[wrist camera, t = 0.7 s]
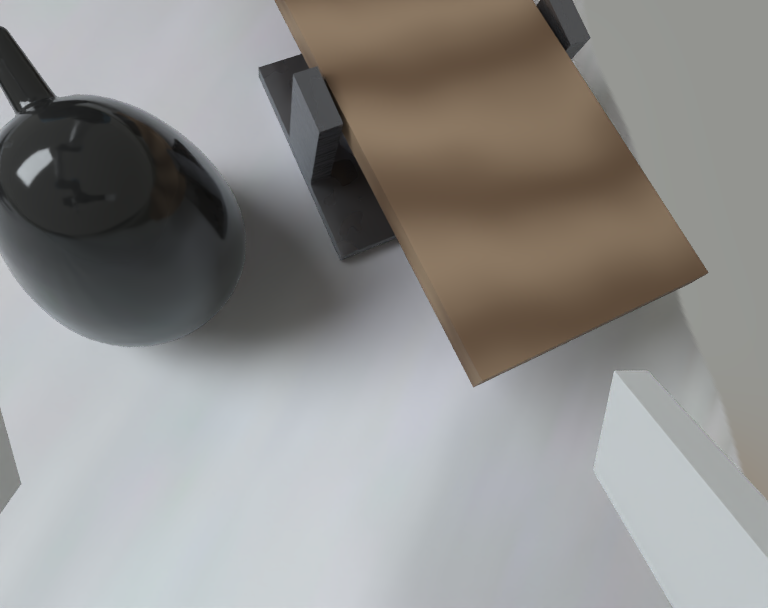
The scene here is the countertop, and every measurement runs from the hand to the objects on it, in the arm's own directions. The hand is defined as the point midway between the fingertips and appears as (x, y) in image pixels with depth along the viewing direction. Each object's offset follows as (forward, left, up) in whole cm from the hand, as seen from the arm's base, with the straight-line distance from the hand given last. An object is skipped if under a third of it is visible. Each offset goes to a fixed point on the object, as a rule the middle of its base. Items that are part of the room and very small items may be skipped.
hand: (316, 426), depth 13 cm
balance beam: (-12, +13, -15) cm, 23 cm away
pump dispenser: (-10, -4, -21) cm, 24 cm away
